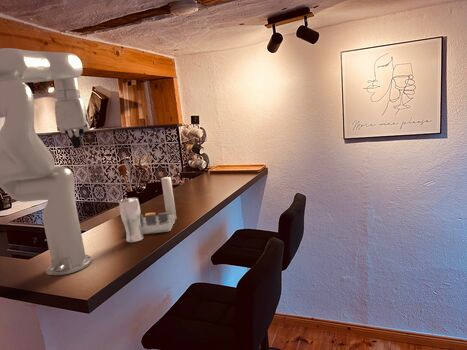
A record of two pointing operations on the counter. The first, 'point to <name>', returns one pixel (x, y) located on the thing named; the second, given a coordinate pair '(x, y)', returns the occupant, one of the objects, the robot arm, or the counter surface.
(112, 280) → the counter surface
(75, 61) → the robot arm
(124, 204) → the beer glass
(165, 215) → the grey rectangular box
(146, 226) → the breaker panel
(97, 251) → the counter surface
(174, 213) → the post
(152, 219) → the paddle mid
